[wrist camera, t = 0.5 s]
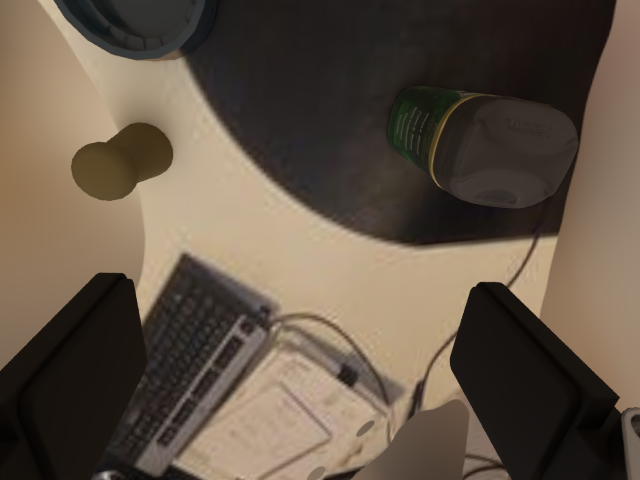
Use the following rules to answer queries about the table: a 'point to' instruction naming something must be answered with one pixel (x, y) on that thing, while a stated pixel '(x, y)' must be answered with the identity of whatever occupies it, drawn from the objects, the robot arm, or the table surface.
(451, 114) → the coffee jar
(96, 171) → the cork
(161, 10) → the bowl
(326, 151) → the table surface
